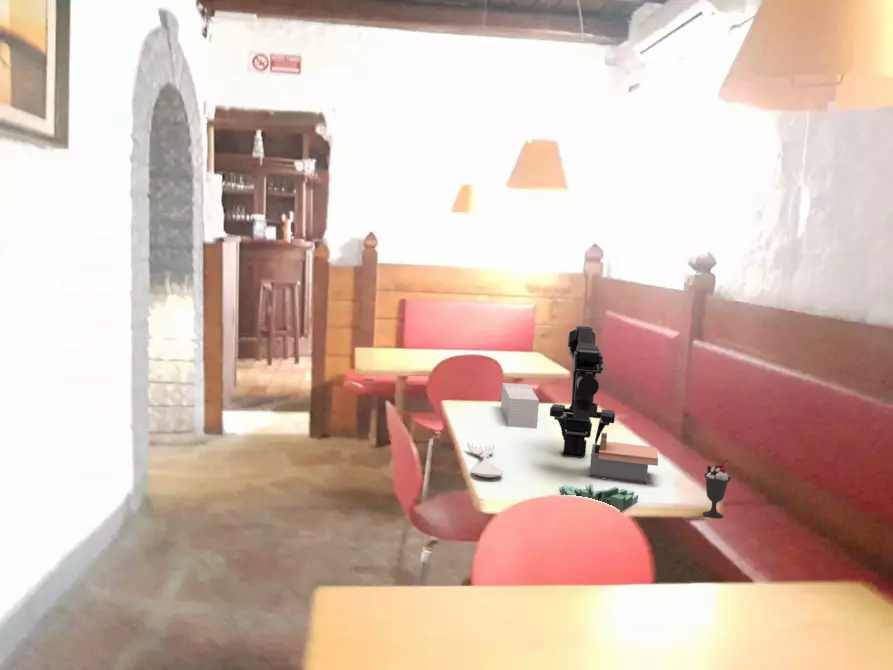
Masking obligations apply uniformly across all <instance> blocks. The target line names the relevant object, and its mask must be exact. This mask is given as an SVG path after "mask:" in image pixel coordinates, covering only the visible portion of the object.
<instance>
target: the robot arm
mask: <svg viewBox="0 0 893 670" xmlns="http://www.w3.org/2000/svg"><path fill="white" fill-rule="evenodd" d="M567 337H568V338H567V348H569V349H568V350H569V351H568V353H569V355H570V357H571V359H572V361H573V364H572V367H573V368H572V381H571V384H572V385H571V401H570V406H569V408H566V405H565V404H556V403H553V404H552V405H551V407H550V409H549V416H550V417H554V418H553V419H554V420H555V421H556V420H557V422H558V423H559V427H560V431H561V436H562V438H563V443H564V444H563V452H562V455H563V456H570V457H577V458H584V455H586V451H587V440H586V438H588V439H589V438H591V435H592V434H591V433H592V427H593V422H592V420H591V419H592V418H593V419H599V422H598V424H597V425H598V426H597V429H596V435H595V438H594V444H598V441H599V438H600V437H601V435H602V433H603V430H604V429H605V427H606V426H610V424H614V423H615V419H616V412H615V410H612V409H601V411H598V405H599V404H598V403H595V402H594V401H595V399H594V398H595V395H596V394H597V393H598V392H599V389H600V387H599V386H600V385H599V382H598V380H597V379H596V377H597V374H602V371H603V370H604V357H603V354H602V353H601V352H600V348H599V347H598V346H597V345H596V333H595V332H594V331H593V327H591V326H585V325H584V326H583V325H582V326H581V325H579V326H576V328H575V329H574V330H571V331H569V333H568V336H567Z"/></svg>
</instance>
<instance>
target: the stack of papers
mask: <svg viewBox="0 0 893 670" xmlns="http://www.w3.org/2000/svg"><path fill="white" fill-rule="evenodd" d="M501 387H502V388H501V402H500V410H501V413H502V416H503V419H504V421H505V423H506V426H507V428H509V427H511V428H523V429H525V428H526V429H538V420H539V419H538V418H539V407H540V406H539V405H540V399H539V398H538V396H537V395H536V393H535V392H534V390H533V388H532V387H531V386H530V384H527V383H526V384H525V383H522V384H521V383H513V382H512V383H511V382H510V383H508V382H502V386H501Z"/></svg>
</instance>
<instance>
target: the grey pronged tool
mask: <svg viewBox="0 0 893 670" xmlns="http://www.w3.org/2000/svg"><path fill="white" fill-rule="evenodd" d="M495 446H496V445H495V443H493V445H492V446H491V445H490V444H489V445H488V447H487V445H485V447H484V448H483V446H482V445H479V449H478V446H477V445H476V444H475V447H474V444H473V443H471V444H470V442H467V447H468V449H469V451H470V452H471V454H474V455H475V456H477V457H479V458H481V459H482V461H480V462H479V463H477V464H476V465H474V466H473V467H472V468H471V470H470V471H471V472H472V474H474V475H476V476H479V477H481V478H489V479H490V478H497V477H500V476H503V474H504V471H503V470H502V469H500V468H499V467H497V465H495V464H494V463H491V462H490V461H489V460H488V459H489V458H490V457H491V456H490V455H492V454H493V453H494V451H495Z"/></svg>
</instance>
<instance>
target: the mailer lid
mask: <svg viewBox="0 0 893 670" xmlns="http://www.w3.org/2000/svg"><path fill="white" fill-rule="evenodd" d="M600 437H601V438H600V442H599V445H600V448H599V458H598V459H604V460H612V461H621V462H629V463H638V464H646V465H648V466H653V467H654V466H656V467H658V465H659V464H658V463H659V456H658V451H657V447H656V446H655V447H654V446H649V445H648V446H647V445H639V444H629V443H620V442H613V441H612V442H611V441H607V440H608V432H601V434H600Z"/></svg>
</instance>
